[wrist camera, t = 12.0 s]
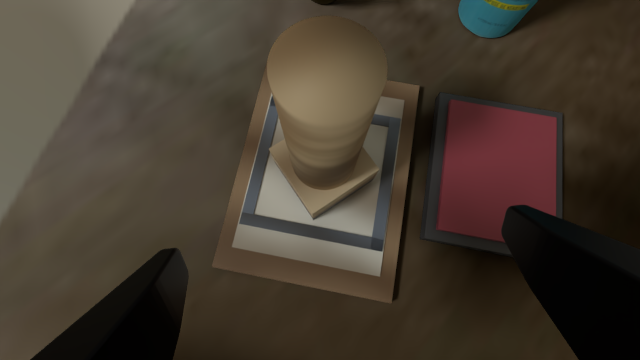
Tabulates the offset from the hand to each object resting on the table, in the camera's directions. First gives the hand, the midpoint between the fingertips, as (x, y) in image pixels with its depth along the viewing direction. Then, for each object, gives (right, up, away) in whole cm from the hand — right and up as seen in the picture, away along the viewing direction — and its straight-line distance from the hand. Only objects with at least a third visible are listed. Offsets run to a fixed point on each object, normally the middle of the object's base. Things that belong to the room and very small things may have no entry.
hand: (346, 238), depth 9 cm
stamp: (-1, +2, +14) cm, 14 cm away
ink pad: (+12, +2, +15) cm, 19 cm away
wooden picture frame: (0, +2, +15) cm, 15 cm away
